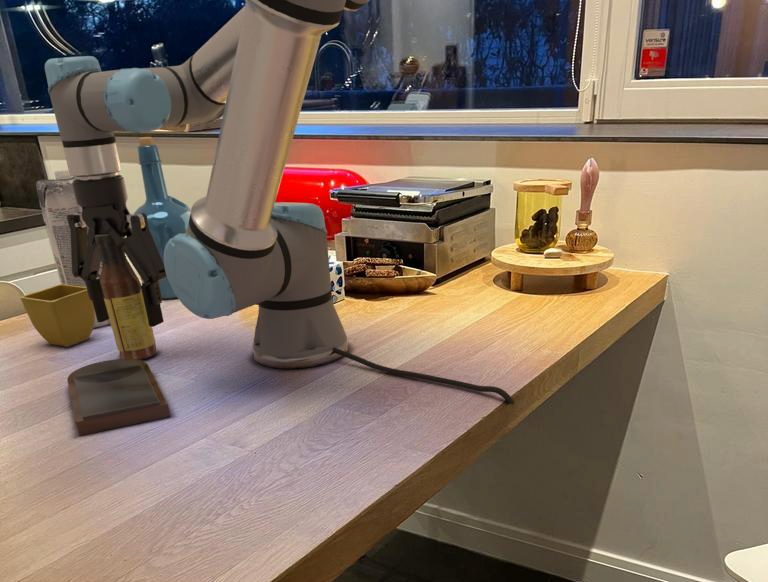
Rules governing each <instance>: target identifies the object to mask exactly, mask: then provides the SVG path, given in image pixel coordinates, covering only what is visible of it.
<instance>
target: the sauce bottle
mask: <svg viewBox="0 0 768 582" xmlns="http://www.w3.org/2000/svg"><path fill="white" fill-rule="evenodd" d="M94 238H95V242H96V244H97V245H98V248H99V252H100V256H101V261H102V272H101V275H100V284H101V288H102V291H103V295H104V301H105V305H106V308H107V312H108V316H109V319H110V323H111V324H110V327H111V330H112V334H113V337H114V340H115V344H116V347H117V350H118V351H119V356H120V359H135V360H141V361H143V360H145V359H148V358H151V357H153V356H154V355H156V354H157V345H156V337H155V334H154V330H153V327H149V322H148V317H147V313H146V308H145V304H144V299H143V294H142V290H141V285H142V282H141V280H140V279H139V277H138V276H137V274H136V272H135V270H134V269H133V266H131V265H132V264H130V261H129V259H128V257H127V256H126V254H125V253H124V251H123V249H122V248H121V247H119V246H117V244H116V243H115V242H114V241H113V239H112V237H111V235H110V234H102V235H101V234H97V235H95V236H94Z"/></svg>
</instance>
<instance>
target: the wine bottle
mask: <svg viewBox="0 0 768 582" xmlns="http://www.w3.org/2000/svg"><path fill="white" fill-rule="evenodd" d="M138 143H139V145H138V146H137V155H138V165H140V170H141V175H142V182H143V189H144V193H145V202H144V203H143V204H142V205H141V206H139V207H138V208H137V209H136V210H135V211H134V212H133V214H140V213H145V214H146V216H147V220H148V226H149V230H150V232H151V235H152V237H153V239H154V242H155V244H156V246H157V249H158V251H159V253H160V256H161V258H162V260H163V263H164V250H165V246H166V244H167V242H168V241H169V240H170V239H171V238H173V237H174V236H175V235H177V234H185V233H186V231H187V228H188V223H189V218H190V213H191V207H190V206H189V205H188V204H187V203H185V202H183V201H181V200H179V199H177V198H175V197H173V196H171V195H169V193H168V189H167V184H166V180H165V176H164V171H163V167H162V159H161V154H160V152H159V149H158V145H157V144H155V142H154V138H153V137H152V136H143V137H140V138H139V139H138ZM131 230H132V228H131ZM148 275H149V274H148ZM149 276H150V275H149ZM140 283H141V285H142V284H143V283H144V281H143V280H142V278H141V277H140ZM159 286H160V291H161V296H162V300H169V299H170V300H171V299H178V298H177V296H176V295H175V293H174V291H173V289H172V287H171V285H170V283H169V281H168V278H165V279H162V280H160V282H159Z"/></svg>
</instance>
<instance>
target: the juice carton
mask: <svg viewBox="0 0 768 582" xmlns="http://www.w3.org/2000/svg"><path fill="white" fill-rule="evenodd" d="M53 174H54V179H39V180H37V181H36V183H35V189H36V193H37V197H38V200H39V207H40V210H41V215H42V219H43V222H44V226H45V229H46V230H45V231H46V233H47V237H48V241H49V245H50V249H51V253H52V256H53V261H54V263H55V267H56V271H57V274H58V279H59V282H60V284H65V285H72V286H80V287H86V283H85V281H83V279H82V278H80V277H74V276H73V274H72V256H71V230H70V227H69V223H68V220H67V216H68V215H70V214H74V213H78V212H82V207H81V206H79V205H78V204H77V202H76V198H75V194H74V190H73V186H72V182H73V180H75V177H73V176H71V175H70V174H69V170H68V169H61V170H55V171H53ZM88 229H89V228H88V226H87V232H88ZM101 272H102V261H101V264H100V268H99V274H100V275H101ZM98 276H99V275H98ZM99 278H100V277H98V278H96V279H99ZM94 312H95V310H94ZM108 325H111V323H110V319H108V320H106V321H103V322H97V318H96V314H95V321H94V327H93V329H96V328H100V327H104V326H108Z"/></svg>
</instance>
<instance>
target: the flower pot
mask: <svg viewBox="0 0 768 582" xmlns="http://www.w3.org/2000/svg"><path fill="white" fill-rule="evenodd" d="M20 300H21V302H22V303H21V304H22V305H23V307H24V310H25V311H26V314H27V316H28V318H29V320H30V322H31V324H32V326H33V327H34V330H36V331H37V333H38V334H39V335H40V336H41V337H42V338H43V339H44V340H45V341H46V342H48V343H49V344H50V345H55V346H60V347H65V348H69V347H71V346H73V345H76V344H79V343H82V342H84V341H87V340H89V339H90V337H91V336H92V333H93V330H94V328H93V327H94V321H95V312H94V306H93V302H92V301H91V300H90V298H89V295H88V291H87V287H80V286H72V285H65V284H61V283H60V284H57V285H53V286H50V287H47V288H43V289H41V290H38V291H35V292H31V293H28V294H25V295H22V296H20Z"/></svg>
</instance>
